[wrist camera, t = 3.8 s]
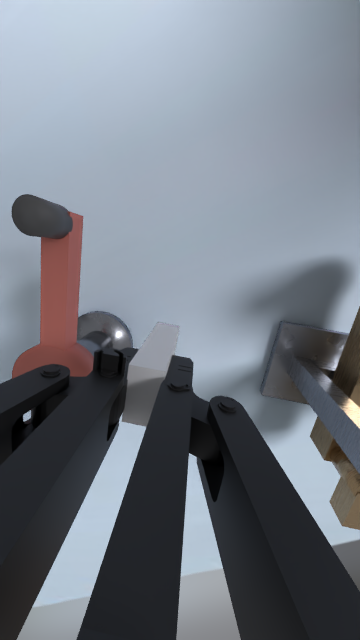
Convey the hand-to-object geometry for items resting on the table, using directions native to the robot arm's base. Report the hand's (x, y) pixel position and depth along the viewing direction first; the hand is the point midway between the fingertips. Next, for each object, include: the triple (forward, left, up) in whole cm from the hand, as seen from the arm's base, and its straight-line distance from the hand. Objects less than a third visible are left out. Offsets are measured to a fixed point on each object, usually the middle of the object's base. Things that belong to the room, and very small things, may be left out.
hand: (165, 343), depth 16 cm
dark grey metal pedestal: (+5, -8, -9) cm, 13 cm away
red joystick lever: (0, -8, -2) cm, 8 cm away
